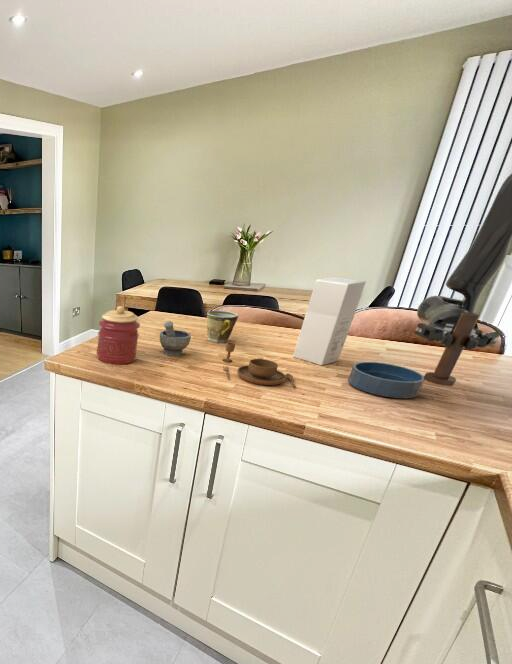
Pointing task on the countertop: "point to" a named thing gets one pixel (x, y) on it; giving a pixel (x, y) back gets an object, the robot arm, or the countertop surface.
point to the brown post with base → (453, 351)
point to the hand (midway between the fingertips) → (459, 343)
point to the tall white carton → (328, 319)
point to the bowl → (386, 379)
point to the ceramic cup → (220, 325)
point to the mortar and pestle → (173, 340)
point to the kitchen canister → (118, 336)
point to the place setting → (258, 370)
